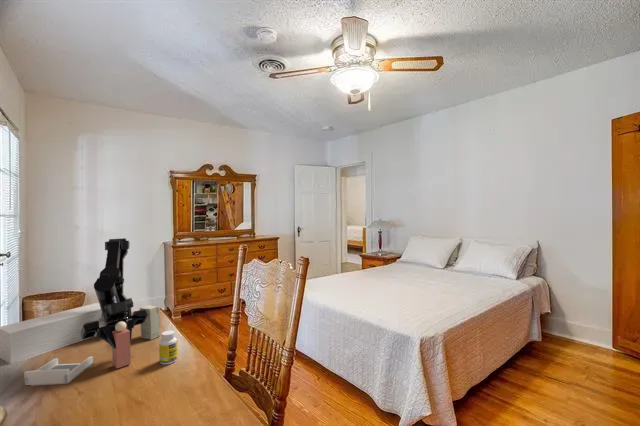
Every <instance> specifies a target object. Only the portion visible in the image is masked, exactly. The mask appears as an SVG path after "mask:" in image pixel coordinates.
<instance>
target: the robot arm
mask: <svg viewBox="0 0 640 426" xmlns="http://www.w3.org/2000/svg"><path fill="white" fill-rule="evenodd" d="M130 244H131V243H130V240H127V238H109V239H108V241H104V251H107V253H106V258H105V265H104V268H103V269H101V271H100V272H99V276H98V277H96V281H95V282H94V284H93V289H94V292H95V294H96V297H97V300H98V303H99V304H100V308H101V311H102V317H103V318H104V321H105V322H101V323H99V322H98V321H97V320H96V321H92V322H88V323H85V324H84V325H83V327H82V330H81V337H82V339H85V340H88V339H91V338H94V337H96V339H99V338H100V339H101V340H103V341H105V342H106V343H107V344H108V345H109V346H110V347H113V348H114V349H115V348H116V344H115V341H114V338H113V336H112V332H113V331H116V329H115V325H116V324H117V323H118V322H121V321H123V322H125V323H126V329H128V330H129V331H130V344H131V343H132V336H133V333H132V332H133V329H134V327H135V326H138V325H141V324H142V323H144V322H145V320H146V318H147V316H148V313H147V311H146V310H144V309H142V310H140V309H139V310H133V312H132V309H133V307H134V301H133V298H132V297H129V298H127V297H126V296H125V294H124V283H125V279H124V260H125V258H126V256H127V255H128V254H129V252H128V251H129V249H130ZM95 331H96V332H97V335H96V336H94V335H95V334H96V332H95ZM93 336H94V337H93ZM90 337H91V338H90ZM87 338H88V339H87Z"/></svg>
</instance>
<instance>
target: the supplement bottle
mask: <svg viewBox="0 0 640 426" xmlns="http://www.w3.org/2000/svg"><path fill="white" fill-rule="evenodd" d="M175 336H176V332H175V331H174V330H165V331H163V332H161V339H160V341H159V349H158V350H159V364H161V365H171V364H174V363H175V362H177V360H178V339H177V337H175ZM173 362H174V363H173Z"/></svg>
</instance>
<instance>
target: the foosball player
mask: <svg viewBox="0 0 640 426" xmlns="http://www.w3.org/2000/svg"><path fill="white" fill-rule="evenodd" d="M115 329H116V331H113V332H112V336H113V338H114V341H115V344H116V348H115V349H114V348H113V347H112V346H111V347H112V349H111V350H112V365H113V367H114V368H116V369H120V368H123V367H125V366H128V365H131V364H132V363H131V361H132V359H131V343H130V331H129V330H128V329H126V323H125V322H123V321H121V322H118V323H117V324H116V325H115Z"/></svg>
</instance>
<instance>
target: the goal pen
mask: <svg viewBox="0 0 640 426" xmlns="http://www.w3.org/2000/svg"><path fill="white" fill-rule="evenodd" d="M93 365H94V356H89V357H87V358H86V359H84V360H83V361H82V362H75V363H74V362H73V363H59V358H58V357H54V358H53V359H51V360H49V361H48V362H46V363H45V364H44V365H42V366H40V367H38V368H37V369H36V370H35V369H34V370H26V371H24V372H23V374H24V375H23V377H24V386H25V385H31V386H44V385H46V386H47V385H50V386H51V385H66V384H69V383H70V382H72V381H73V380H74V379H75V378H77V377H78V376H80V374H82V373H84V371H86V370H87V369H88V368H90V367H91V366H93Z"/></svg>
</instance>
